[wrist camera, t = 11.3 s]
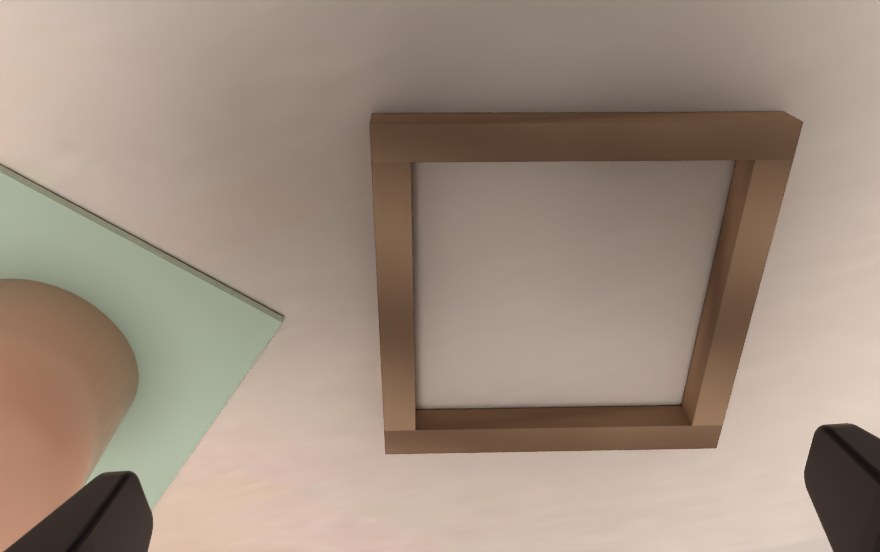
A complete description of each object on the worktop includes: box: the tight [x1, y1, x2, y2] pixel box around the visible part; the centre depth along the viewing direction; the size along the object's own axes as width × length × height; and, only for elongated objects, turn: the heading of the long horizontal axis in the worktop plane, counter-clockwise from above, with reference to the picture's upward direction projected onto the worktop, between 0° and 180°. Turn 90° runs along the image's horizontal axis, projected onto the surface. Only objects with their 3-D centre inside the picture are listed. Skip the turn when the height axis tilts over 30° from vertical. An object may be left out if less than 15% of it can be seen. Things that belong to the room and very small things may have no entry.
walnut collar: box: [370, 112, 803, 454], centre depth 20 cm, size 11×11×1 cm
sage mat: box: [0, 165, 284, 510], centre depth 21 cm, size 11×11×1 cm
